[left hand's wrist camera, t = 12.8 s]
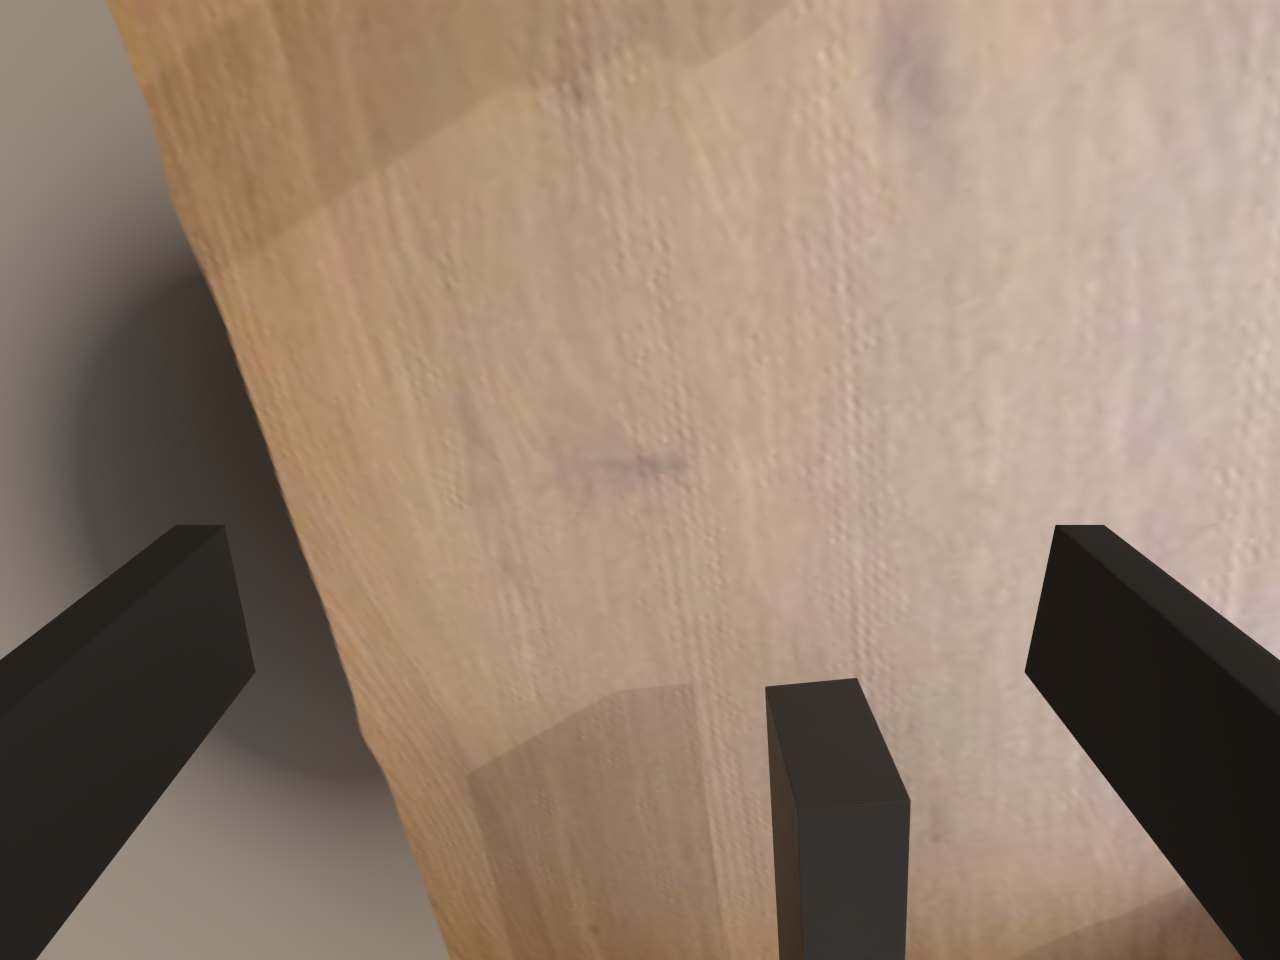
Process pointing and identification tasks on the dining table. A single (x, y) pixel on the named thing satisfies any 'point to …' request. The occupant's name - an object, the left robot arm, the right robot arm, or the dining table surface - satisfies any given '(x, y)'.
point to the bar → (836, 826)
